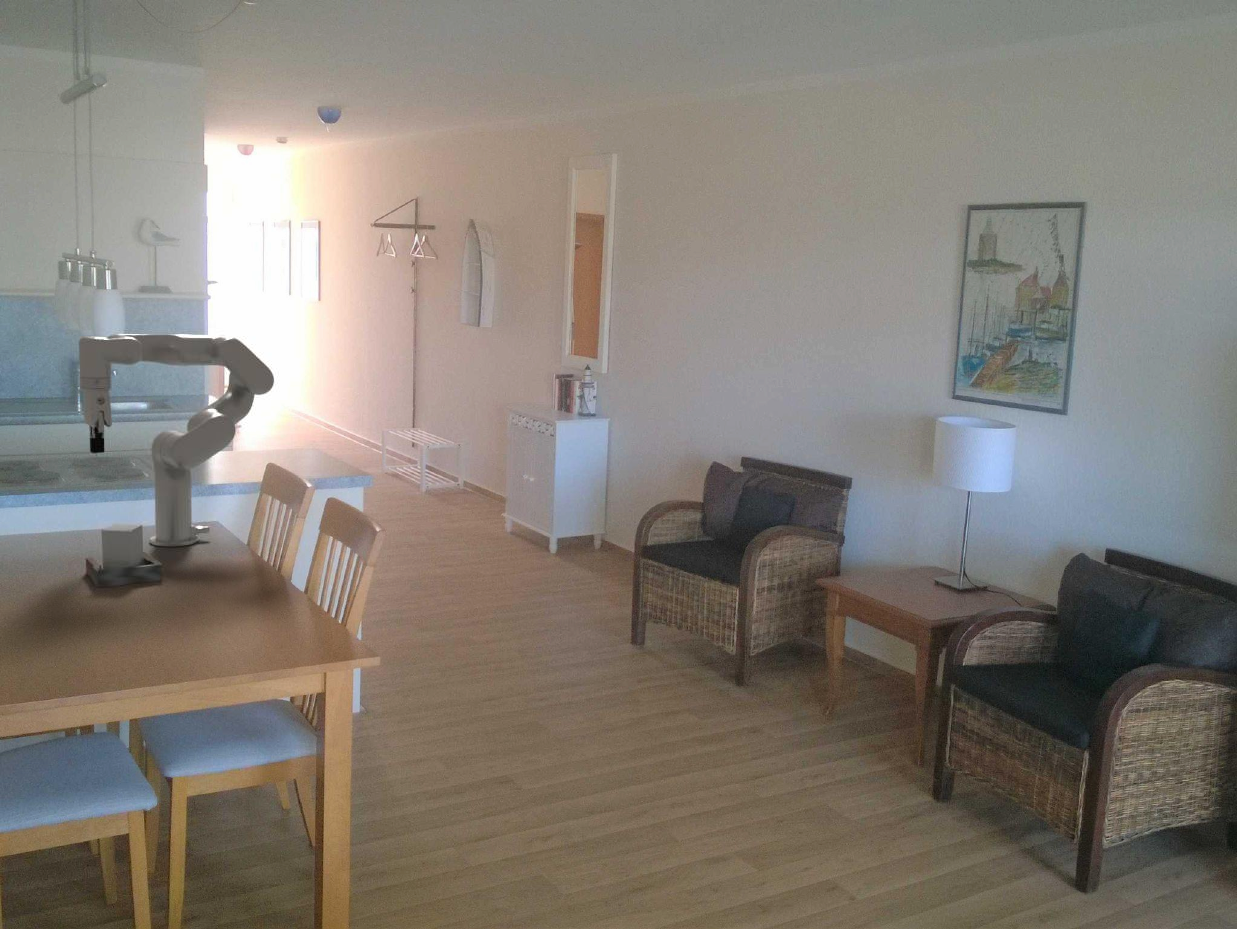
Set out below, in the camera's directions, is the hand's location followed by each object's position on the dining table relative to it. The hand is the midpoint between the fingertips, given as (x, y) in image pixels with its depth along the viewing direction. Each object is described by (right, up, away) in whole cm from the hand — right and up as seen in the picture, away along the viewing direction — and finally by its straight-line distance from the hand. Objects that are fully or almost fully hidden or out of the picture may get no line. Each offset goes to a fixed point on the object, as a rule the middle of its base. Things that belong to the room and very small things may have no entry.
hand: (97, 452), depth 299 cm
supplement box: (+14, -31, -17) cm, 38 cm away
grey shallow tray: (+15, -31, -18) cm, 39 cm away
